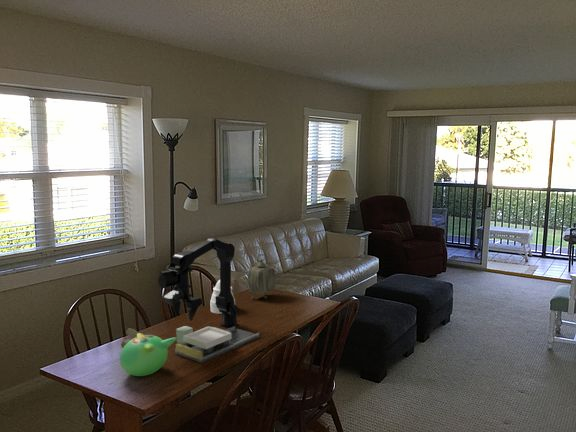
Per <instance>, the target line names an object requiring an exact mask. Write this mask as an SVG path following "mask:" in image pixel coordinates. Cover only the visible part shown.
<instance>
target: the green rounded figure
mask: <svg viewBox="0 0 576 432" xmlns="http://www.w3.org/2000/svg"><path fill="white" fill-rule="evenodd" d="M129 340H130V341H129V342H128V343H127V344H126V345H125V346H124V348H123V347H122V350H121V352H120V354H119V362H120V366H121V368H122V369H123V371H125V372H126V373H127V374H129V375H130V376H134V377H145V376H150V375H151V374H154V373H156V372H157V371H159V369H161V368H162V367H163V365H164V364H165V363H166V361H167V358H168V354H169V353H168V352H169V349H168V348H169V347H170V346H171V345H172V344H174V343H175V342H177V336H175V337H170V338H167V339H162V338H161V337H159V336H156V335H153V334H143V333H141V332H138V334H137V337H136V338H133V339H129Z"/></svg>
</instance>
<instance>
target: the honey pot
mask: <svg viewBox="0 0 576 432" xmlns="http://www.w3.org/2000/svg"><path fill="white" fill-rule="evenodd" d="M212 290H213V291H212V293H211V298H210V302H209V303H210V307H209V308H210V312H211V313H213V314H216V315H217V314H218V315H220V314H221V315H222V312H219V309H218V308H217V306H216V304H215V303H216V296H218V295H219V293H220V279H219V280H218V281H217V282H216V284H215V286H214V287H213V288H212ZM232 290H233V287H232V286H231V293H232V295H233V297H234V302H235V303H236V299H235V296H234V294H233V291H232Z"/></svg>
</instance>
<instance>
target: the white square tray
mask: <svg viewBox="0 0 576 432" xmlns="http://www.w3.org/2000/svg"><path fill="white" fill-rule="evenodd" d="M230 339H232V335H231V333H230V332H229V331H226V329H222V328H219V327H215V326H209V325H208V326H205V327H203V328H201V329H198V330H196V331H193V332H192V333H189V334H187V335H184V336H183V342H186V344H185V345H186V346H187V347H192V346H193V345H195V346H198V347H201V348H204V349H206V353H207V354H211V353H212V352H213V348H212V347H213V346H215V345H218V344H220V343H222V345H223V347H227V346H228V345H229V343H230Z"/></svg>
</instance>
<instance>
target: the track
mask: <svg viewBox="0 0 576 432" xmlns="http://www.w3.org/2000/svg"><path fill="white" fill-rule="evenodd" d="M225 330H226V331H229V332H230V333H231V335H232V339H230V343H229V345H228V346H227V347H223V345H222V343H220V344H218V345H215V346H213V347H212V348H213V352H212V353H211V354H207V353H206V349H204V348H201V347H198V346H195V345H193V346H192V347H187V346H186V344H185V345H183V344H180V343H176V344H175V349H174V354H175V355H178V356H180V357H184V358H186V359H189V360H191V361H195V362H197V363H198V364H199V363H200V364H202V363H206V362H208V361H209V360H212V359H214V358H216V357H218V356H221V355H224V354H225V353H227V352H228V353H229V352H231V351H232V350H234V349H237V348H239V347H241V346H243V345H245V344H248V343H249V342H250V343H251V342H252V341H255V340H257V339H259V338H261V335H260V332H257V333H253V332H251V331H248V330H243V329H241V328H240V329H239V328H236V326H233V327H231V328H225Z"/></svg>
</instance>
